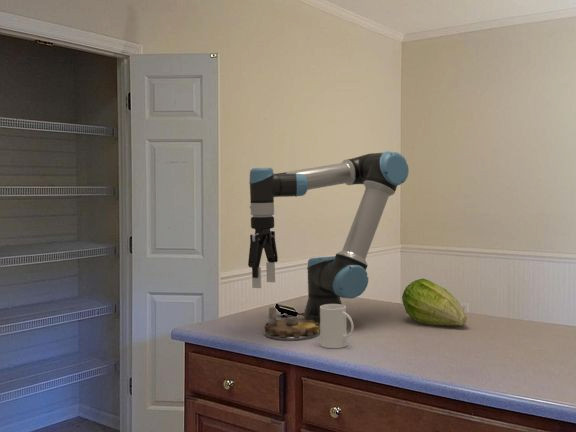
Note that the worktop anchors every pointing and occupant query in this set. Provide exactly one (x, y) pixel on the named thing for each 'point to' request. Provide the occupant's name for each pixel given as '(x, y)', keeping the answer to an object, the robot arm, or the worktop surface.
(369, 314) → the worktop surface
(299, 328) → the sprocket
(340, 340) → the mug
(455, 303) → the lettuce
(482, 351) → the worktop surface
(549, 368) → the worktop surface
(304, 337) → the base plate
